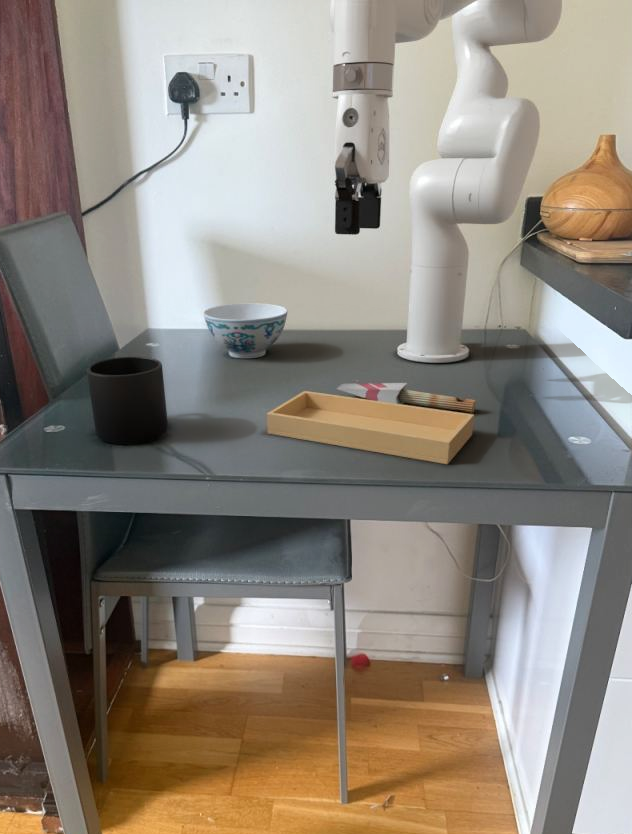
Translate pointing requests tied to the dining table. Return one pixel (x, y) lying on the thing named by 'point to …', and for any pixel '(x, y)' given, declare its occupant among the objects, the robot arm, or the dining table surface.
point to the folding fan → (406, 396)
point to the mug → (128, 399)
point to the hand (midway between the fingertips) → (358, 231)
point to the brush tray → (373, 426)
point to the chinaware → (246, 327)
